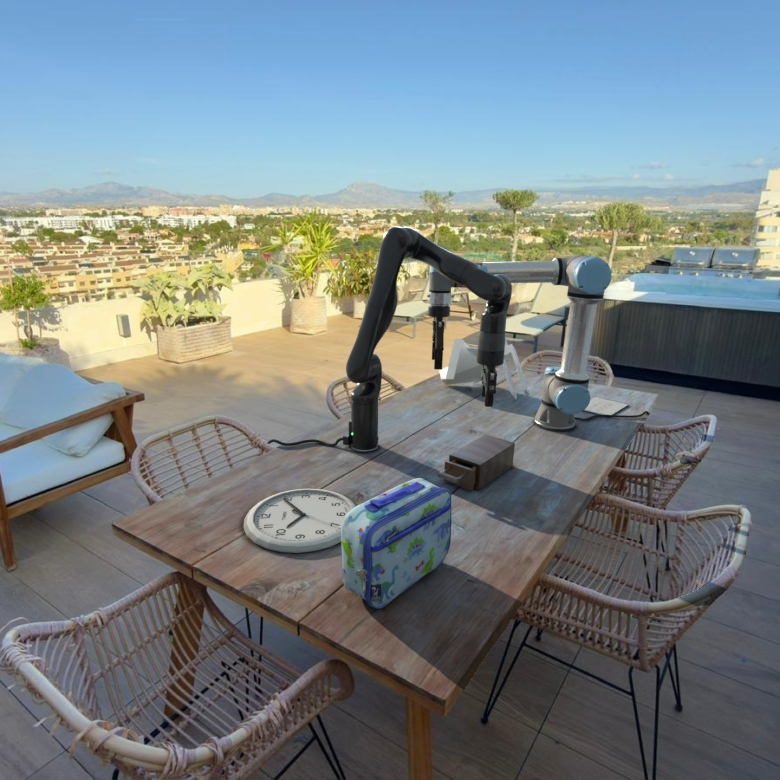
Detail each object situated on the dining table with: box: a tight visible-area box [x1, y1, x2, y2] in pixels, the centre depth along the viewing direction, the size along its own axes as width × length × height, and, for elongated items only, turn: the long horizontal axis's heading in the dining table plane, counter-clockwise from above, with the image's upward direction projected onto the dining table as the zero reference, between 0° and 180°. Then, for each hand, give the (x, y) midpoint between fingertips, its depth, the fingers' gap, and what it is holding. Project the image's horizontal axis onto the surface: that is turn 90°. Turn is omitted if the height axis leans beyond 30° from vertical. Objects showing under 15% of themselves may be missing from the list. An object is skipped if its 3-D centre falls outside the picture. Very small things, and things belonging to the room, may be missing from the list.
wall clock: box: [243, 488, 357, 554], centre depth 136 cm, size 30×2×30 cm
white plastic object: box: [438, 336, 531, 400], centre depth 245 cm, size 37×45×31 cm
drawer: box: [436, 459, 477, 491], centre depth 157 cm, size 26×10×6 cm, turn 140°
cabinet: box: [448, 433, 516, 491], centre depth 162 cm, size 22×11×8 cm, turn 140°
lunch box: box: [340, 477, 452, 610], centre depth 110 cm, size 26×11×21 cm, turn 134°
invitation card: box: [583, 396, 629, 415], centre depth 226 cm, size 21×1×15 cm
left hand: (486, 401), depth 152 cm, fingers open, 8 cm apart
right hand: (436, 364), depth 187 cm, fingers open, 13 cm apart
